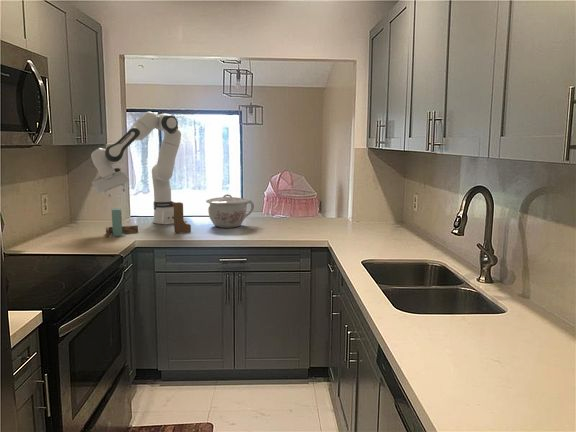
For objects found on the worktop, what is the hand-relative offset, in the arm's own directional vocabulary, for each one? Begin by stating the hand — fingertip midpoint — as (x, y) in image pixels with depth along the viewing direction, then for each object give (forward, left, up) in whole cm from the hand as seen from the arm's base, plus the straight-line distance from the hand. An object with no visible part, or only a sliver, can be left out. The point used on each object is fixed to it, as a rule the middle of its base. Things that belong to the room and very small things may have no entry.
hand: (117, 194), depth 298 cm
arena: (-1, +21, -21) cm, 30 cm away
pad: (+2, +22, -22) cm, 31 cm away
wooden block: (-35, +25, -22) cm, 48 cm away
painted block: (+2, +22, -21) cm, 31 cm away
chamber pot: (-66, +14, -22) cm, 71 cm away
